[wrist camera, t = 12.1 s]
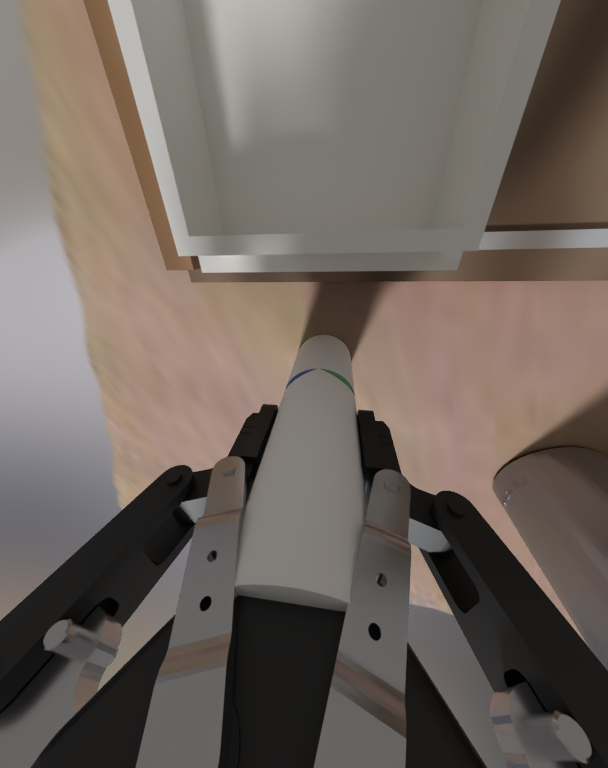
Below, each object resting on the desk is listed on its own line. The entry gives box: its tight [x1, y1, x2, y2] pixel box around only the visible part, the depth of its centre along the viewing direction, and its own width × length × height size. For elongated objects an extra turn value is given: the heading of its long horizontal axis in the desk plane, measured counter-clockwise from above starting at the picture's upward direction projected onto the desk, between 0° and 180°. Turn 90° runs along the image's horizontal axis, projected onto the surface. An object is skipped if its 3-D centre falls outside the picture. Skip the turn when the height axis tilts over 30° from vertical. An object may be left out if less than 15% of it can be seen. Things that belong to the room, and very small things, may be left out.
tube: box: [235, 335, 367, 612], centre depth 12 cm, size 4×4×15 cm
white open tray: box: [108, 0, 561, 273], centre depth 8 cm, size 12×12×6 cm
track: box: [84, 0, 608, 282], centre depth 10 cm, size 26×14×3 cm, turn 92°
